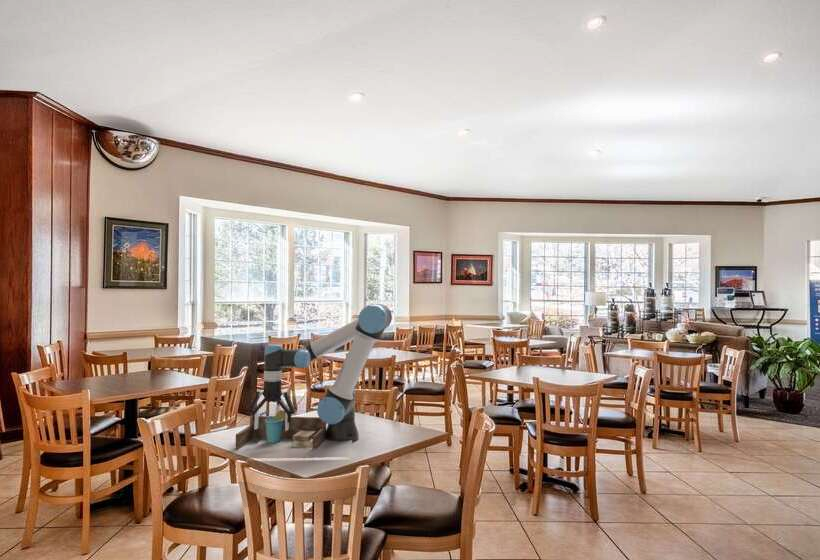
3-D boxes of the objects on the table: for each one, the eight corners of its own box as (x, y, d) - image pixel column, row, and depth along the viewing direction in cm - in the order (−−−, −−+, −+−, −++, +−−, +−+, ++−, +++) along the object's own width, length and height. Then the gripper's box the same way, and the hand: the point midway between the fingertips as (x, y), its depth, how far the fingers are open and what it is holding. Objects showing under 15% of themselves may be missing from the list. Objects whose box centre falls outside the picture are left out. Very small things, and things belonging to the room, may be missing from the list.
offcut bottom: (318, 443, 239) (318, 439, 239) (311, 452, 226) (311, 447, 227) (298, 443, 240) (298, 438, 240) (290, 451, 227) (290, 446, 227)
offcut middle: (315, 439, 239) (316, 434, 239) (312, 446, 228) (312, 441, 228) (297, 439, 239) (297, 434, 239) (293, 446, 228) (293, 441, 228)
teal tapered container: (266, 449, 226) (266, 413, 227) (253, 447, 231) (253, 411, 231) (290, 442, 238) (290, 407, 239) (277, 439, 242) (277, 405, 243)
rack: (326, 439, 242) (326, 417, 242) (316, 451, 225) (316, 426, 225) (251, 437, 245) (251, 415, 245) (235, 448, 228) (235, 424, 228)
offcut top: (316, 435, 238) (316, 430, 238) (308, 441, 228) (308, 436, 228) (301, 434, 239) (301, 430, 239) (292, 440, 229) (292, 435, 229)
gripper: (303, 379, 238) (302, 428, 237) (248, 377, 240) (246, 426, 239) (298, 382, 230) (297, 432, 230) (241, 380, 233) (240, 430, 232)
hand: (271, 429), depth 235 cm, fingers open, 13 cm apart
